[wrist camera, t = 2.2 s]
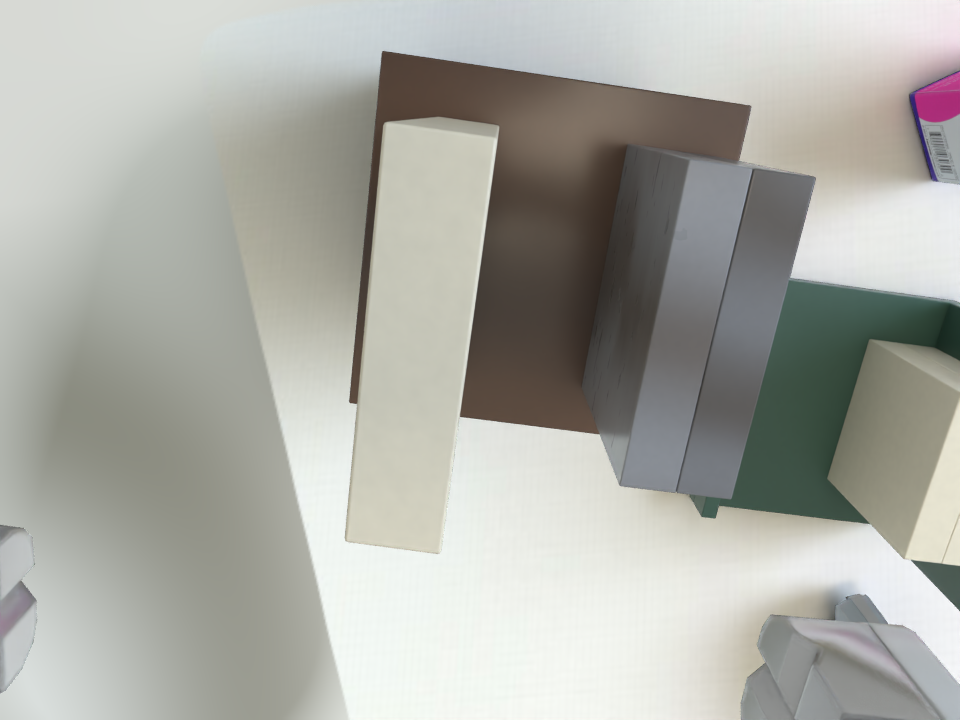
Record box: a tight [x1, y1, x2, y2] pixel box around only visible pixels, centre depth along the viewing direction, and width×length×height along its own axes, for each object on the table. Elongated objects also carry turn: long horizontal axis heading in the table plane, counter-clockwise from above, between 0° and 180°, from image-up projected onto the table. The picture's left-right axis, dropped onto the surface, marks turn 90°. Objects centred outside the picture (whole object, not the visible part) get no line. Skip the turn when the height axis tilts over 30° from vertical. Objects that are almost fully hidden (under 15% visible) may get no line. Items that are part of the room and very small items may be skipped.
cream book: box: [345, 117, 499, 554], centre depth 24 cm, size 10×2×14 cm, turn 172°
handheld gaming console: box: [835, 594, 888, 624], centre depth 55 cm, size 14×3×8 cm, turn 15°
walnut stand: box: [349, 51, 816, 499], centre depth 36 cm, size 14×14×27 cm
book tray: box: [690, 278, 960, 611], centre depth 47 cm, size 16×14×11 cm
